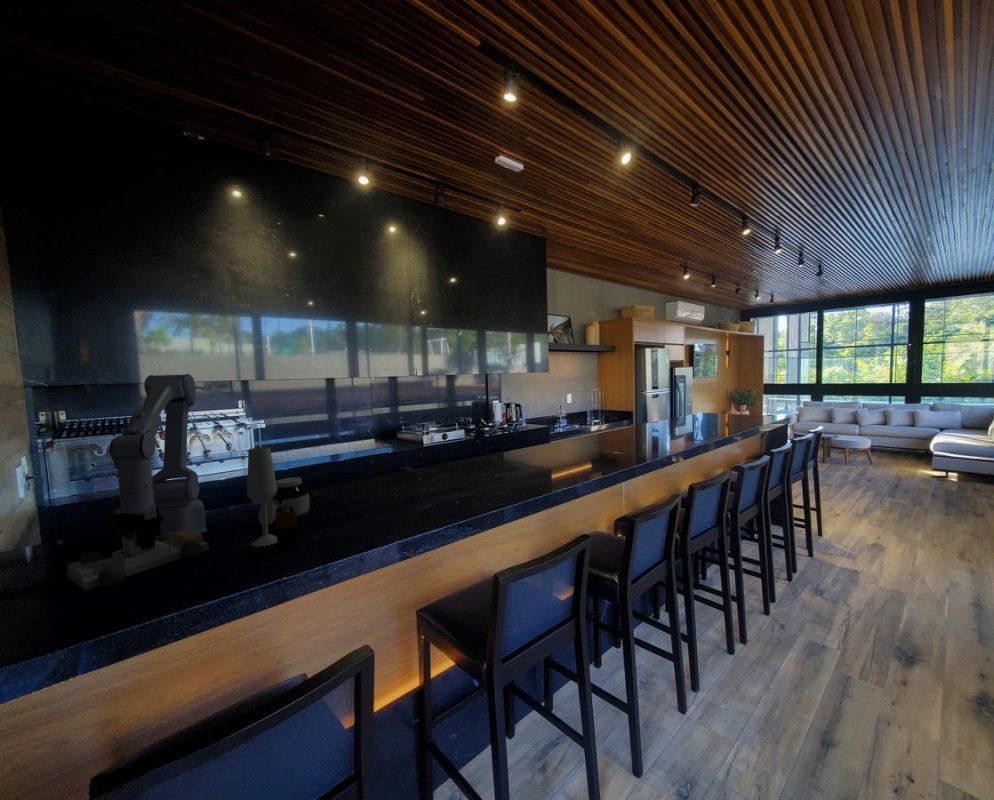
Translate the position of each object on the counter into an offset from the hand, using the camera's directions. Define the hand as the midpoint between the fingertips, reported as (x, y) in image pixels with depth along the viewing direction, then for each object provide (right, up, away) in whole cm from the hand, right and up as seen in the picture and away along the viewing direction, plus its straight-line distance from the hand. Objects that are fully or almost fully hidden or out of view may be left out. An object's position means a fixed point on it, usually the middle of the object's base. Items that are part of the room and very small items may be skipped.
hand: (141, 545), depth 94 cm
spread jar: (+19, -3, +28) cm, 33 cm away
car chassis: (0, -4, 0) cm, 4 cm away
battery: (+30, -3, +8) cm, 31 cm away
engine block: (0, -2, 0) cm, 2 cm away
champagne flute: (+22, -3, +11) cm, 25 cm away
